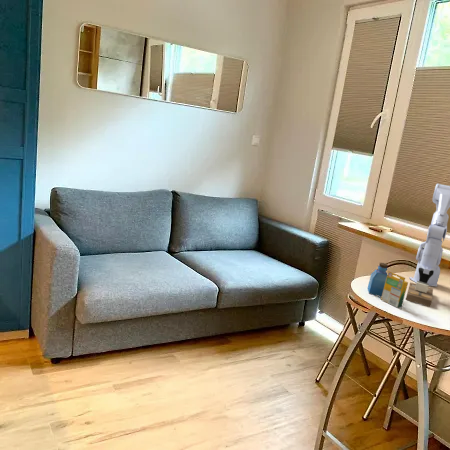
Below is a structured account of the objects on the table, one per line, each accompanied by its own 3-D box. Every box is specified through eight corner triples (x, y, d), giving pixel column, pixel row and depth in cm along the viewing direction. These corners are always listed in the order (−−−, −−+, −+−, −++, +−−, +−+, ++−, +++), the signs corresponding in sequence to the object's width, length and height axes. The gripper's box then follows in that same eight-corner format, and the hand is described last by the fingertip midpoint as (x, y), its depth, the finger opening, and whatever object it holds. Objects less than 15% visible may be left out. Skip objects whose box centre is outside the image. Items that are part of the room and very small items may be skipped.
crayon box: (401, 307, 168) (410, 277, 166) (397, 308, 167) (405, 278, 164) (385, 299, 174) (392, 270, 171) (380, 299, 172) (388, 270, 170)
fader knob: (415, 287, 185) (417, 279, 185) (426, 291, 184) (429, 283, 183) (414, 289, 183) (417, 281, 182) (426, 293, 181) (428, 285, 180)
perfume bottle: (385, 297, 176) (393, 267, 174) (369, 293, 177) (376, 264, 175) (383, 292, 182) (390, 263, 180) (367, 288, 183) (374, 260, 181)
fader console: (408, 287, 193) (410, 282, 193) (431, 294, 190) (433, 288, 189) (405, 299, 177) (407, 293, 177) (430, 307, 174) (432, 300, 173)
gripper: (441, 261, 174) (431, 294, 177) (441, 254, 187) (432, 285, 190) (421, 256, 177) (412, 288, 180) (423, 249, 190) (414, 280, 193)
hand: (421, 286), depth 185 cm, fingers closed
